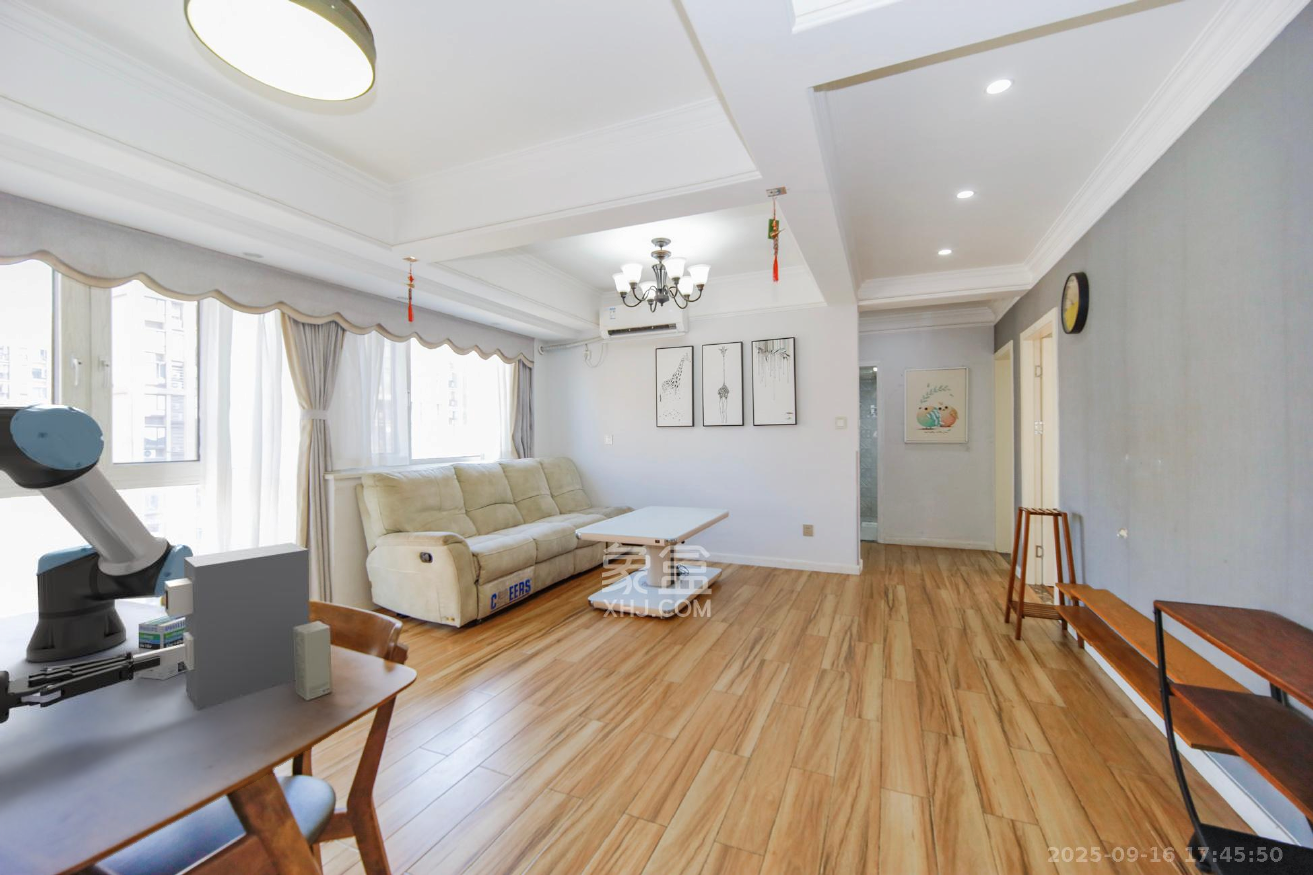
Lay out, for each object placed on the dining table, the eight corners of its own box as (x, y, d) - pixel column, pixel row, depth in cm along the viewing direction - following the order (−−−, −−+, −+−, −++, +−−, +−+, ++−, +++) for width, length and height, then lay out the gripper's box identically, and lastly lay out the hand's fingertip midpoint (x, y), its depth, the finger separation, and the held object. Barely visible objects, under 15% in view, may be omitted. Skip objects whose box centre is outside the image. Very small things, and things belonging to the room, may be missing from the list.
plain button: (183, 662, 95) (183, 632, 95) (225, 651, 99) (225, 623, 99) (189, 670, 91) (188, 640, 91) (232, 659, 96) (231, 630, 96)
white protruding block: (163, 611, 93) (163, 581, 93) (208, 602, 97) (208, 574, 97) (168, 618, 89) (167, 587, 89) (215, 608, 94) (214, 579, 94)
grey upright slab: (186, 690, 97) (184, 557, 97) (293, 659, 110) (291, 542, 110) (197, 709, 90) (195, 566, 90) (310, 674, 103) (308, 549, 103)
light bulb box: (163, 680, 101) (162, 626, 101) (136, 678, 103) (135, 623, 102) (219, 657, 112) (218, 607, 112) (194, 655, 113) (193, 606, 113)
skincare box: (333, 692, 96) (332, 626, 96) (305, 702, 92) (304, 634, 92) (320, 682, 100) (319, 619, 100) (293, 691, 96) (292, 626, 96)
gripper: (-31, 716, 79) (178, 663, 97) (-39, 748, 70) (191, 683, 89) (-31, 667, 79) (178, 623, 97) (-40, 693, 70) (191, 640, 89)
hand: (184, 652), depth 93 cm, fingers closed
